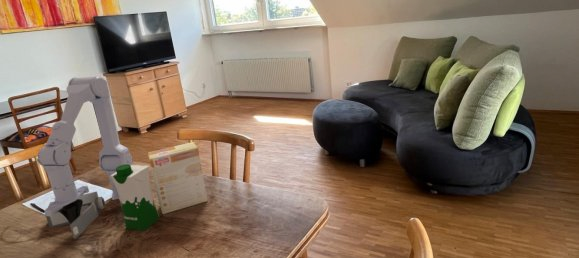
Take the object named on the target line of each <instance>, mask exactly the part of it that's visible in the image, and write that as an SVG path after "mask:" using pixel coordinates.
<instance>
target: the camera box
mask: <svg viewBox="0 0 579 258" xmlns="http://www.w3.org/2000/svg"><path fill="white" fill-rule="evenodd" d="M78 199H82V201H83V204H82V207H81V212H80V215H81V214H82V213H83V212H84V211H85V210H86V209H87V208H88V207H89V206H90V205H91V203H93V202H94V203H95V206H96V210H97V213H98V217H100V213H101V210H102V209H103V210H104V209H105V206H106V201H105V199H104V197H103V196H99V195H98V192H97V191H93V192H88V193H84V194H83V195H81V196H80V197H79V198H78ZM53 202H54V201H50V202H49V205H48V206H47V208H48V207H49V206H50V205H51V204H52V203H53ZM54 214H55V215H53V216H46V214H45V213H44V215H45V218H46V221H47V224H48V227H49V229H51V230H52V229H55V228H59V227H63V226H68V225H70V223H69V221H68V220H67V219H66V218H65V217H64V216H63V215H62V214H61V213H60V212H58V211H57V212H56V213H54ZM98 217H97V218H98Z"/></svg>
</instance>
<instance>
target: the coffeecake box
mask: <svg viewBox="0 0 579 258" xmlns="http://www.w3.org/2000/svg"><path fill="white" fill-rule="evenodd" d="M147 157H148V160H149V164H150V166H149V167H150V169H151V172H152V178H153V182H154V186H155V191H156V195H157V199H158V203H159V206H160V207H159V208H160V211H161V215H165V214H168V213H172V212H175V211H178V210H183V209H185V208H189V207H192V206H195V205H199V204H202V203H206V202H208V201H209V200H208V195H207V190H206V184H205V179H204V175H203V167H202V164H201V163H202V162H201V160H200V159H201V158H200V153H199V148H198V146H197V145H196V144H195V142H194V141H192V142H186V143H183V144H179V145H174V146H170V147H166V148H162V149H158V150H153V151H149V152H147Z"/></svg>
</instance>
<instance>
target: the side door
mask: <svg viewBox="0 0 579 258" xmlns="http://www.w3.org/2000/svg"><path fill="white" fill-rule="evenodd" d="M97 218H98V213H97V210H96V206H95V203H94V202H93V203H91V205H90V206H89V207H88V208H87V209H86V210H85V211H84V212H83V213H82V214H81V215H80V216H79V217H78V218H77V219H76V220H74V221H73V222H72V223H71V224H69V227H70V231H71V234H72V236H73V239H77V238H78V237H79V236H80V235H81V234H82V233H83V232H84V231H85V230H86V229H87V228H88V227H89V225H91V223H92V222H94V220H95V219H97Z"/></svg>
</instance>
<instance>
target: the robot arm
mask: <svg viewBox="0 0 579 258" xmlns="http://www.w3.org/2000/svg"><path fill="white" fill-rule="evenodd" d="M67 84H68V85H67V86H66V93H67V95H68V96H67V99H66V102H65V106H64V109H63V112H62V115H61V119H60V120H59V121H56V122H55V123H54V124H53V125H52V127H51V131H50V134H49V136H48V139H47V141H46V143H45V145H43V147H41V148H40V149H39V151H38V152H37V159H36V161H37V163H38V164H39V165H40V166H42V168H43V170H44V171H45V172H46V173H47V177H48V180H49V182H50V186H51V189H52V192H53V195H54V198H53V199H54V201H52V202H53V203H52V204H51V205H50V206H49V205H48V206H49V207H48V206H47V207H46V209H44V215H45V214H46V215H45V217H46V216H53V215H55V214H54V213H56V212H57V211H58V212H60V213H61V214H62V215H63V216H64V217H65V218H66V219H67V220H68V221H69V223H70V224H71V223H72V222H73V221H74V220H76V219H77V218H78V217H79V216H80V212H81V207H82V204H83V201H82V199H78V198H79V197H80V196H81V195H84V194H88V193H90V189H89V187H88V185H82V186H80V187H78V188H77V187H76V183H75V180H74V177H73V174H72V170H71V167H70V164H69V162H70V160H71V159H72V152H71V151H72V150H71V149H72V145H71V144H72V141H73V138H74V136H75V133H76V130H77V129H76V126H75V122H76V120H77V118H78V116H79V113H80V111H81V109H82V107H83V105H84V104H85V103H88V102H89V103H91V104H92V105H93V107H94V113H95V116H96V120H97V125H98V130H99V133H100V138H101V143H102V146H103V147H102V149H101V150H100V151H99V152H98V156H99V161H98V163H99V165H98V166H99V167H100V169H101V170H102V171H104V172H105V175H107V176H108V179H109V184H110V187H111V192H112V193H111V194H112V195H111V200H112V201H116V200H120V199H119V196H118V192H117V188H116V186H115V184H114V183H113V181H112V179H111V177H110V175H112V174H114V173H115V172H116V168H117V167H118V166H121V165H125V164H129V165H134V160H133V156H132V154H130V150H129V148H128V147H126V146H125V145H122V144H121V142H120V138H119V132H118V128H117V124H116V118H115V115H114V109H113V105H112V100H111V95H110V90H109V86H108V82H107V79H105V78H104V77H102V76H100V75H96V76H88V77H87V76H86V77H83V76H82V77H72V78H70V80H69V81H68V83H67ZM70 224H69V225H70Z"/></svg>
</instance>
